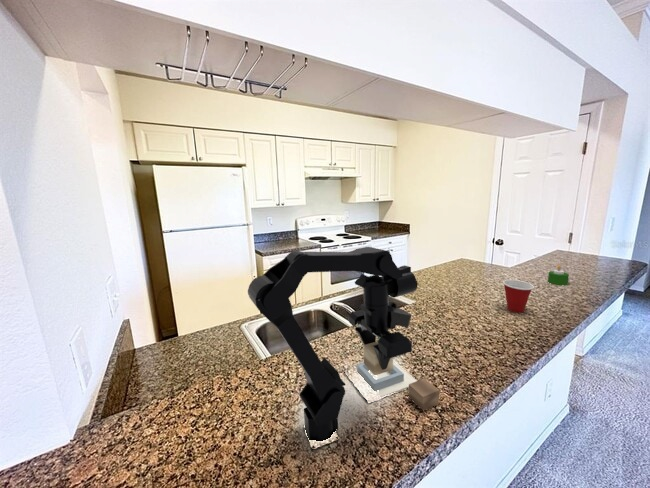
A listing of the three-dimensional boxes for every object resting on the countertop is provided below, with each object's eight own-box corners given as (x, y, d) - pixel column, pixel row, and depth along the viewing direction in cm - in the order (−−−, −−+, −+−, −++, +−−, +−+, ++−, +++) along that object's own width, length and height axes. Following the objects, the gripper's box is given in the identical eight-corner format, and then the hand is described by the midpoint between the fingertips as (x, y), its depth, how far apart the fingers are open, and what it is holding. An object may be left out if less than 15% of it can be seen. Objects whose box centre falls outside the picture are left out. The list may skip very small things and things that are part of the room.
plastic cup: (524, 317, 110) (526, 289, 108) (496, 309, 119) (497, 282, 117) (537, 311, 115) (539, 283, 113) (509, 303, 124) (510, 277, 122)
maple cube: (374, 375, 63) (374, 355, 62) (364, 363, 67) (363, 345, 66) (392, 369, 64) (392, 350, 64) (381, 358, 69) (380, 340, 68)
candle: (544, 282, 150) (545, 264, 148) (554, 280, 152) (556, 262, 150) (560, 286, 142) (562, 267, 140) (571, 284, 144) (573, 265, 143)
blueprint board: (368, 404, 68) (368, 393, 68) (343, 372, 81) (343, 363, 81) (419, 385, 74) (419, 375, 74) (388, 358, 87) (388, 349, 86)
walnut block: (422, 411, 65) (423, 396, 65) (408, 398, 70) (408, 384, 69) (438, 404, 67) (438, 390, 67) (423, 392, 72) (424, 378, 71)
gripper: (433, 309, 57) (432, 376, 60) (383, 284, 74) (384, 337, 77) (387, 320, 53) (389, 391, 56) (346, 291, 71) (349, 347, 73)
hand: (377, 362), depth 66 cm, fingers closed on maple cube, 5 cm apart
